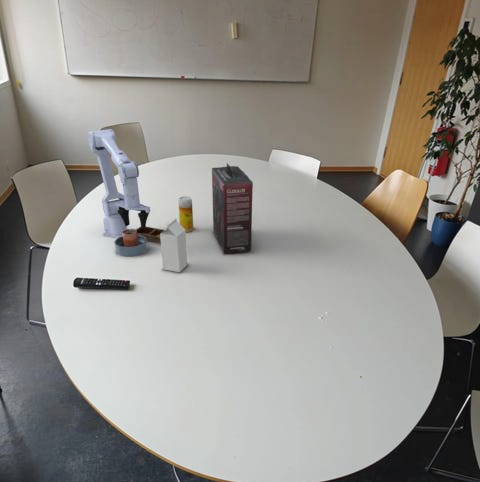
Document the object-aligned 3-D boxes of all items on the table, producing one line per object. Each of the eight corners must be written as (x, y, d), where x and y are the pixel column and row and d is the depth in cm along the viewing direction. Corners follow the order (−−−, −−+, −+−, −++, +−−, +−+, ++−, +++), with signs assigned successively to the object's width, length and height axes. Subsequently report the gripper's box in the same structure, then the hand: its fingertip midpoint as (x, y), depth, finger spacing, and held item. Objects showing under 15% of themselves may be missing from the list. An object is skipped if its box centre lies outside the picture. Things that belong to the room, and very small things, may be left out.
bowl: (109, 254, 179) (108, 244, 176) (127, 242, 189) (126, 232, 186) (136, 259, 175) (135, 249, 172) (153, 247, 185) (152, 237, 182)
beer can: (191, 232, 198) (189, 201, 190) (178, 231, 199) (176, 200, 191) (195, 227, 203) (193, 196, 195) (182, 226, 204) (180, 195, 196)
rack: (132, 239, 191) (131, 232, 189) (142, 232, 197) (141, 225, 196) (164, 245, 186) (163, 238, 184) (173, 238, 193) (172, 231, 191)
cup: (121, 251, 180) (119, 233, 176) (129, 245, 185) (127, 228, 180) (133, 253, 178) (131, 235, 174) (141, 248, 183) (139, 230, 178)
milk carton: (187, 264, 172) (184, 219, 161) (179, 272, 166) (176, 226, 156) (171, 262, 173) (167, 217, 163) (163, 269, 168) (158, 223, 158)
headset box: (212, 231, 199) (210, 158, 181) (238, 229, 202) (239, 156, 184) (223, 254, 179) (222, 174, 161) (252, 252, 182) (254, 173, 164)
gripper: (109, 195, 169) (114, 227, 176) (142, 199, 164) (145, 233, 172) (120, 189, 174) (124, 221, 182) (151, 194, 170) (154, 226, 177)
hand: (135, 226), depth 177 cm, fingers open, 7 cm apart
